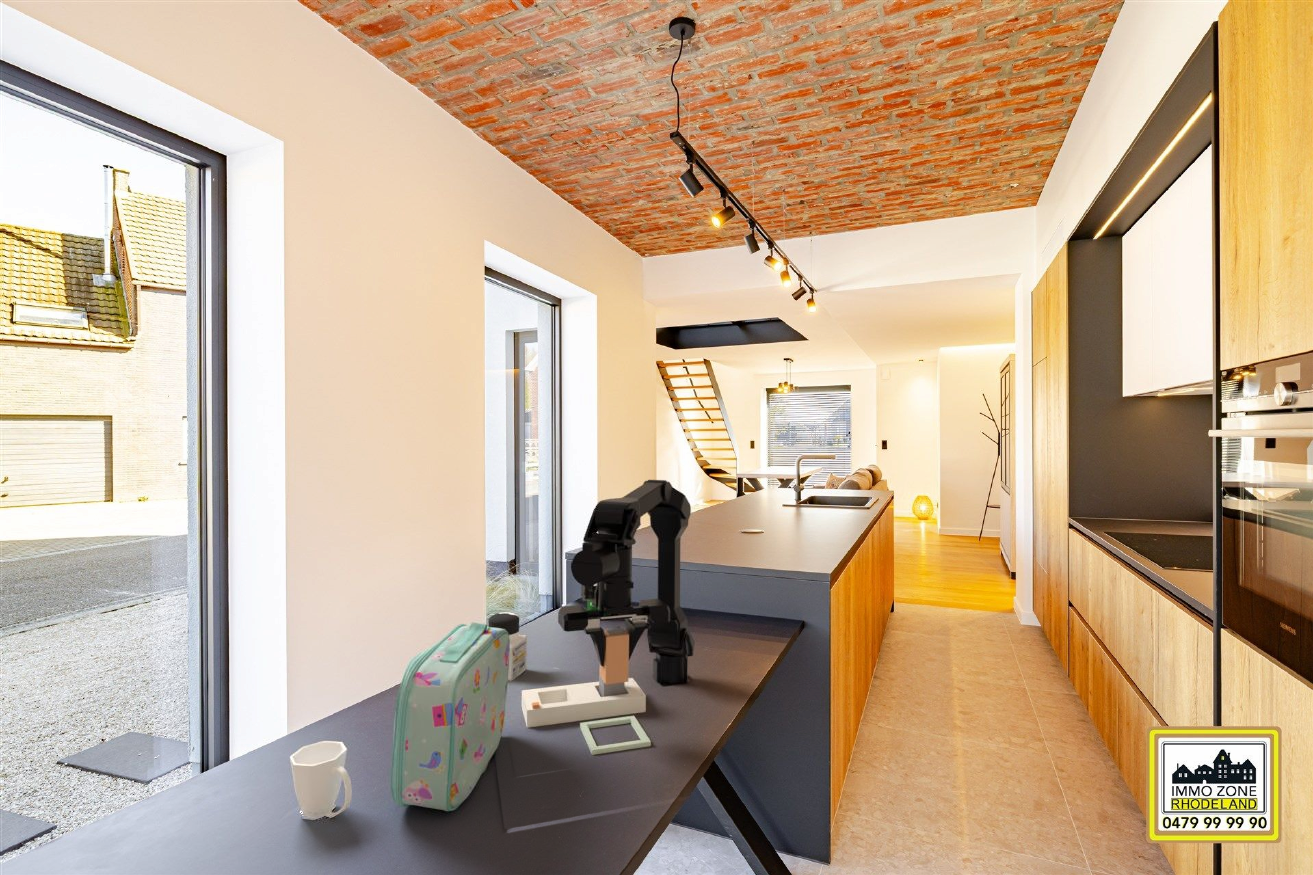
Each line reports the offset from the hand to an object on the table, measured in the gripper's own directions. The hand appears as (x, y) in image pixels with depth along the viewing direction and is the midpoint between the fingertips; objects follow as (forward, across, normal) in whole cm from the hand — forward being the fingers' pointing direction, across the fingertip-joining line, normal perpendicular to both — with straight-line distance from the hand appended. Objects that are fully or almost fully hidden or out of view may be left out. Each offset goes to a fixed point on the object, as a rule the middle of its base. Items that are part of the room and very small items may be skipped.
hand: (614, 663), depth 106 cm
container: (+13, +15, -35) cm, 40 cm away
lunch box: (+13, +26, +2) cm, 29 cm away
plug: (+2, 0, 0) cm, 2 cm away
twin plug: (+12, -3, -12) cm, 17 cm away
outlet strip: (+13, +2, -12) cm, 18 cm away
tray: (+13, 0, 0) cm, 13 cm away
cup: (+13, +43, +8) cm, 46 cm away
